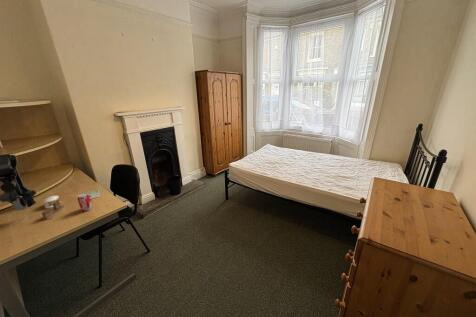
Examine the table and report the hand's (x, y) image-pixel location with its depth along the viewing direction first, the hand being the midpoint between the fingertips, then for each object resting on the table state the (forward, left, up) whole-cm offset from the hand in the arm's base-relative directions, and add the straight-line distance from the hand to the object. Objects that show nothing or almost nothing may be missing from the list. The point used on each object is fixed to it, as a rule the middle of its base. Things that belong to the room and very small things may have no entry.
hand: (21, 206), depth 130 cm
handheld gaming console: (+30, +24, -10) cm, 40 cm away
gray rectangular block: (0, 0, -2) cm, 2 cm away
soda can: (+36, +2, -10) cm, 37 cm away
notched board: (+14, +3, -10) cm, 17 cm away
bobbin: (+7, +15, -10) cm, 19 cm away
